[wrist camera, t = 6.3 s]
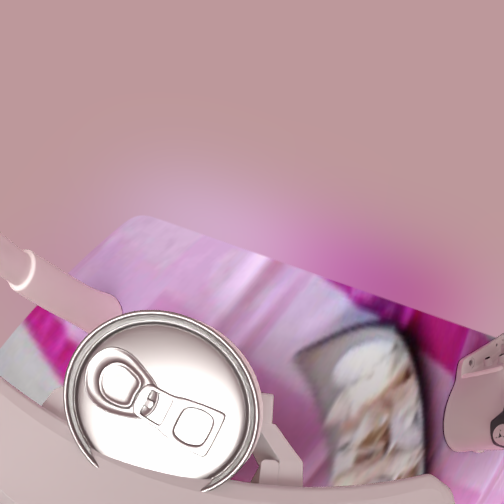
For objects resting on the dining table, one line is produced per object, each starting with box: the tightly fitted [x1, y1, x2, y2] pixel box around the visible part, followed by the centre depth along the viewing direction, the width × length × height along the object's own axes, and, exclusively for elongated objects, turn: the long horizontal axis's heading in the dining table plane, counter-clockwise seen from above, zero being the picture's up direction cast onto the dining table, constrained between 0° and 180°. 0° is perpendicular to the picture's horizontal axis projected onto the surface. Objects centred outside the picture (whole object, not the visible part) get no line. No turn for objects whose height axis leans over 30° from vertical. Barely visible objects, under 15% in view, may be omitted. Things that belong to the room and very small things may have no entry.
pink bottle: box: [0, 232, 122, 334], centre depth 20 cm, size 6×6×22 cm
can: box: [63, 310, 263, 492], centre depth 11 cm, size 6×6×12 cm
